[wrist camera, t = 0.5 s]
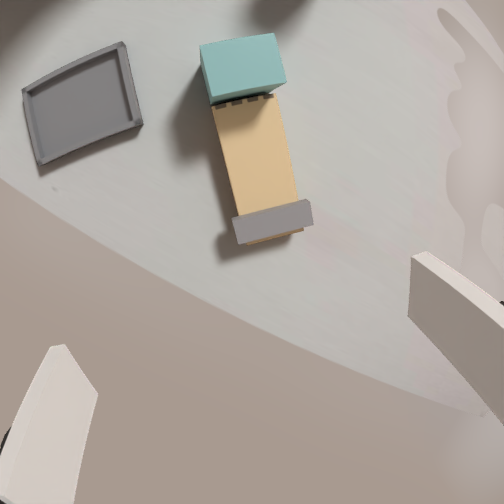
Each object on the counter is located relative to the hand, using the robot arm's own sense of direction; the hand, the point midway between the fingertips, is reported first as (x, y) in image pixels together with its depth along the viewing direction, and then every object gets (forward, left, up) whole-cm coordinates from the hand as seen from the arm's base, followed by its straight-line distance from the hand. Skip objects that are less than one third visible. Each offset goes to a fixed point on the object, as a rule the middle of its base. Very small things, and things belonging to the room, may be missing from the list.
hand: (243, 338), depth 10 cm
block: (-12, +5, -23) cm, 26 cm away
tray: (-14, -11, -23) cm, 29 cm away
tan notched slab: (-2, +5, -23) cm, 24 cm away
